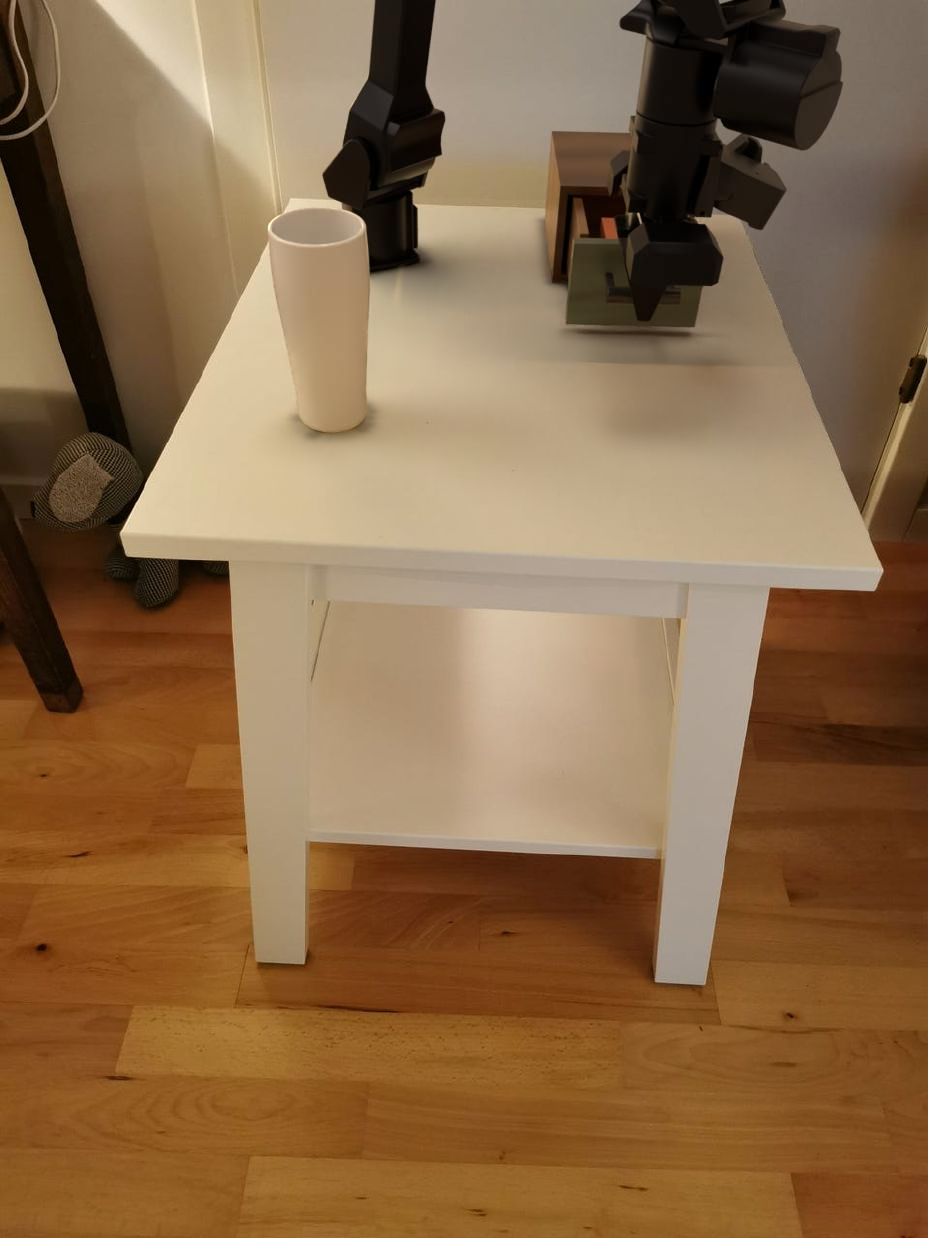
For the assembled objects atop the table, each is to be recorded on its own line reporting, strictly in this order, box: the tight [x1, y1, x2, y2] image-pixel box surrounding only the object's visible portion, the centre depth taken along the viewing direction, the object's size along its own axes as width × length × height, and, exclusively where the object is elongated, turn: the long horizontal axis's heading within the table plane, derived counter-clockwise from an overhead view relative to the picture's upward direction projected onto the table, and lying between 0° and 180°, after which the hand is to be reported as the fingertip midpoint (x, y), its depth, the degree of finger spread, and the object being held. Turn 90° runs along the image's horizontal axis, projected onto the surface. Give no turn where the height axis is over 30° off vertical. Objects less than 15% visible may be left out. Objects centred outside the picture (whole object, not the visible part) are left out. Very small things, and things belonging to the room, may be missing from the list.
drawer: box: [564, 195, 704, 329], centre depth 86 cm, size 18×11×7 cm, turn 179°
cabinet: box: [544, 130, 696, 284], centre depth 96 cm, size 15×13×9 cm
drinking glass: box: [267, 206, 371, 433], centre depth 71 cm, size 7×7×15 cm
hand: (643, 319), depth 79 cm, fingers closed
